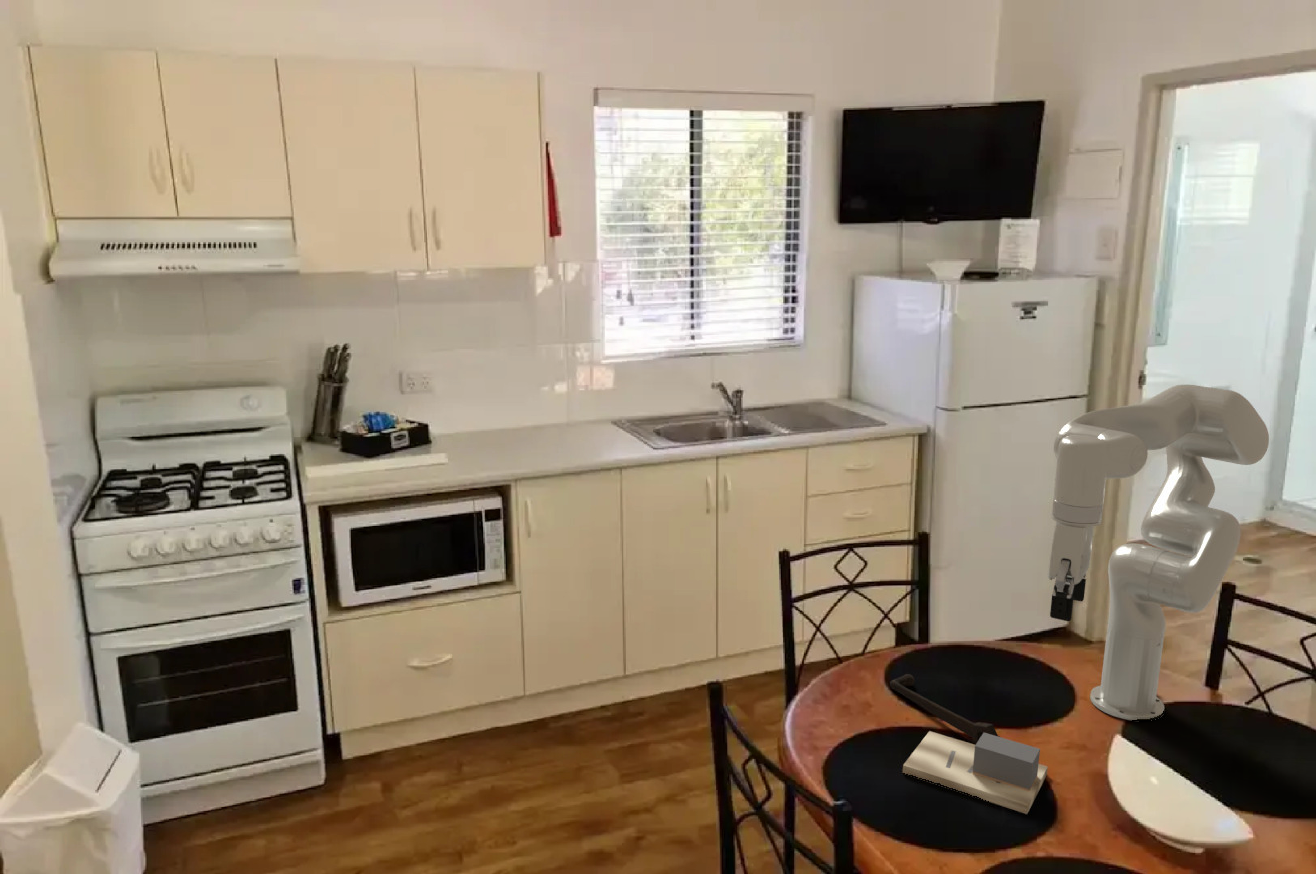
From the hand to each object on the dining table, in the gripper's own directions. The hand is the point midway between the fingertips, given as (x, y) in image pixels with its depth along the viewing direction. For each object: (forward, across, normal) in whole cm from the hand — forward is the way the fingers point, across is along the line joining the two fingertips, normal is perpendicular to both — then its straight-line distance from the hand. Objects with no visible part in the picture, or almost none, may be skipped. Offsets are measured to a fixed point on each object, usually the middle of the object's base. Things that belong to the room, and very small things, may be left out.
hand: (1067, 609), depth 163 cm
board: (+26, +15, -9) cm, 32 cm away
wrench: (+26, 0, -18) cm, 32 cm away
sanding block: (+25, +15, -4) cm, 29 cm away
